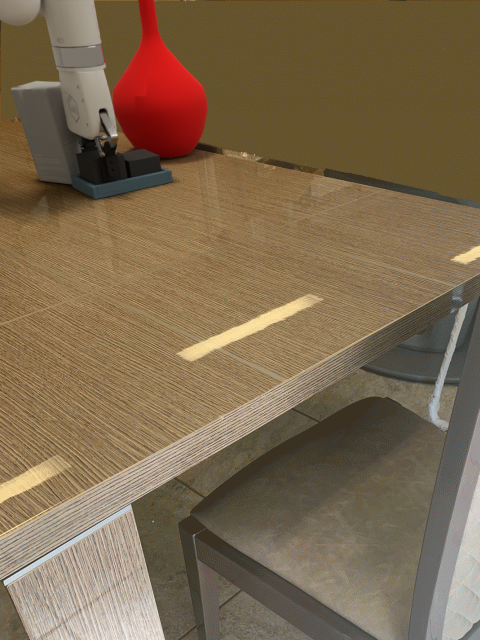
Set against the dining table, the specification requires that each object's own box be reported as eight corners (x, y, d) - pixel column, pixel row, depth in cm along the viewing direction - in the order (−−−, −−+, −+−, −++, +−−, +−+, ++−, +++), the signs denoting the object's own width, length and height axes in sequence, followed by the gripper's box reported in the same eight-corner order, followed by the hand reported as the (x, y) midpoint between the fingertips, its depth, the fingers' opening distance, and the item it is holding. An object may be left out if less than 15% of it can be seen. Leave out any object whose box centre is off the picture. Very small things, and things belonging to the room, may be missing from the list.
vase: (106, 151, 133) (71, -24, 115) (181, 137, 143) (161, -27, 125) (150, 170, 122) (120, -20, 104) (229, 153, 132) (214, -24, 114)
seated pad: (132, 184, 113) (128, 161, 111) (117, 177, 117) (112, 154, 115) (162, 178, 116) (159, 155, 114) (146, 171, 120) (143, 148, 118)
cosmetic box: (96, 176, 119) (76, 81, 109) (69, 187, 114) (46, 88, 104) (61, 171, 122) (39, 77, 112) (33, 181, 117) (7, 84, 107)
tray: (95, 199, 109) (92, 187, 107) (72, 187, 114) (70, 175, 113) (173, 181, 116) (171, 170, 115) (148, 171, 122) (146, 160, 121)
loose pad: (95, 185, 109) (90, 160, 107) (80, 177, 113) (75, 153, 110) (127, 178, 112) (123, 154, 110) (112, 171, 116) (107, 147, 113)
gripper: (35, 54, 105) (62, 169, 116) (80, 66, 94) (105, 191, 105) (79, 50, 108) (101, 161, 119) (126, 61, 98) (146, 182, 109)
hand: (103, 174), depth 112 cm, fingers closed on loose pad, 6 cm apart
